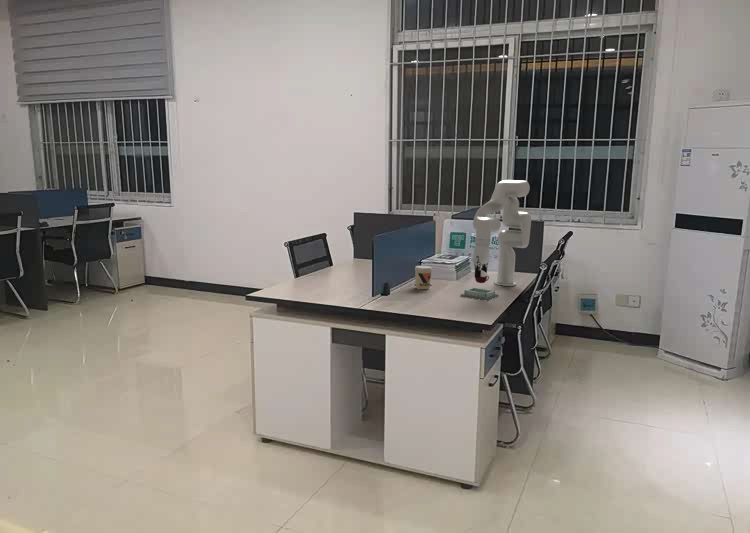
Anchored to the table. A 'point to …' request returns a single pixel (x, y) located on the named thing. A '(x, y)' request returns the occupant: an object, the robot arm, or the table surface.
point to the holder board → (479, 293)
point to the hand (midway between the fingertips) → (480, 276)
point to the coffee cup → (423, 277)
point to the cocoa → (482, 277)
